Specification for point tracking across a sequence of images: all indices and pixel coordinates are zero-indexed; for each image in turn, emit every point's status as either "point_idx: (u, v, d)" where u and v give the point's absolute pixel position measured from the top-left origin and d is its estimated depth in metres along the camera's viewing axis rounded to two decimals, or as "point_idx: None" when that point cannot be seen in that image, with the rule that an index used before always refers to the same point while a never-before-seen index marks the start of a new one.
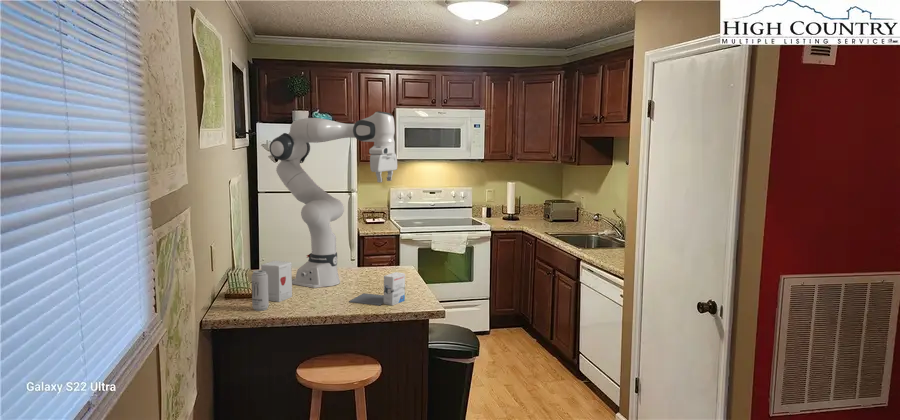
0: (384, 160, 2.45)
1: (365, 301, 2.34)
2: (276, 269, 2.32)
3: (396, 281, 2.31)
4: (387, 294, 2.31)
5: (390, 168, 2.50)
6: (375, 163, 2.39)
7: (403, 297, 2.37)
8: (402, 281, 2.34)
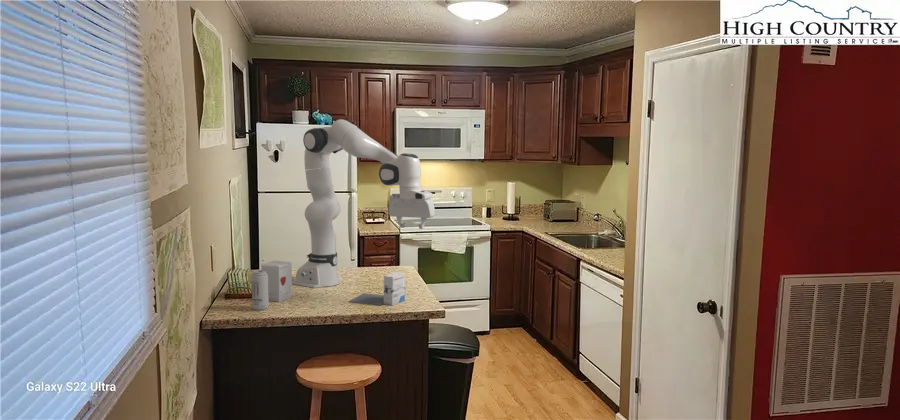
0: None
1: (365, 301, 2.34)
2: (276, 269, 2.32)
3: (396, 281, 2.31)
4: (387, 294, 2.31)
5: None
6: (432, 208, 2.27)
7: (403, 297, 2.37)
8: (402, 281, 2.34)
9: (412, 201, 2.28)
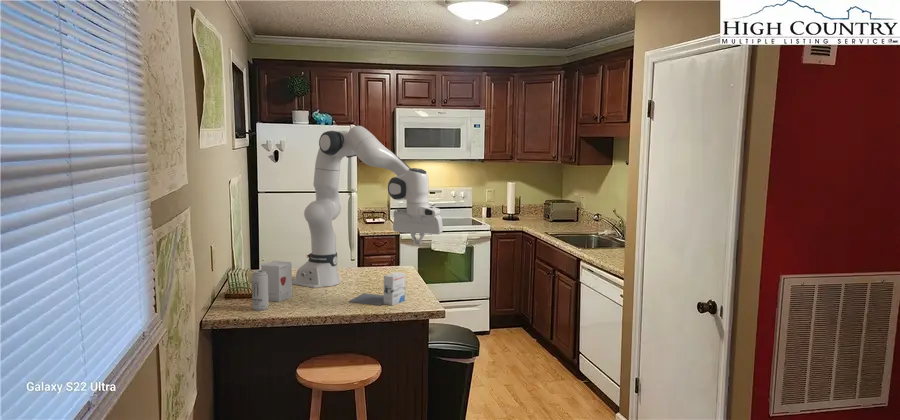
0: None
1: (365, 301, 2.34)
2: (276, 269, 2.32)
3: (396, 281, 2.31)
4: (387, 294, 2.31)
5: None
6: (441, 224, 2.25)
7: (403, 297, 2.37)
8: (402, 281, 2.34)
9: (420, 217, 2.25)
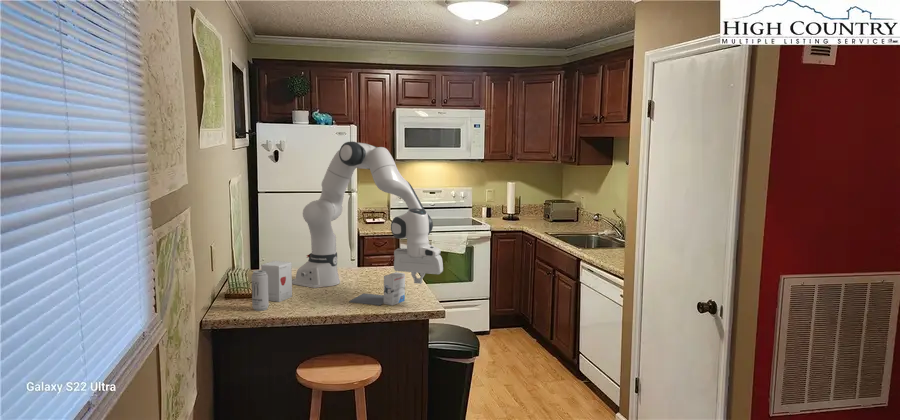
0: None
1: (365, 301, 2.34)
2: (276, 269, 2.32)
3: (396, 281, 2.31)
4: (387, 294, 2.31)
5: None
6: (441, 264, 2.27)
7: (403, 297, 2.37)
8: (402, 281, 2.34)
9: (421, 257, 2.27)
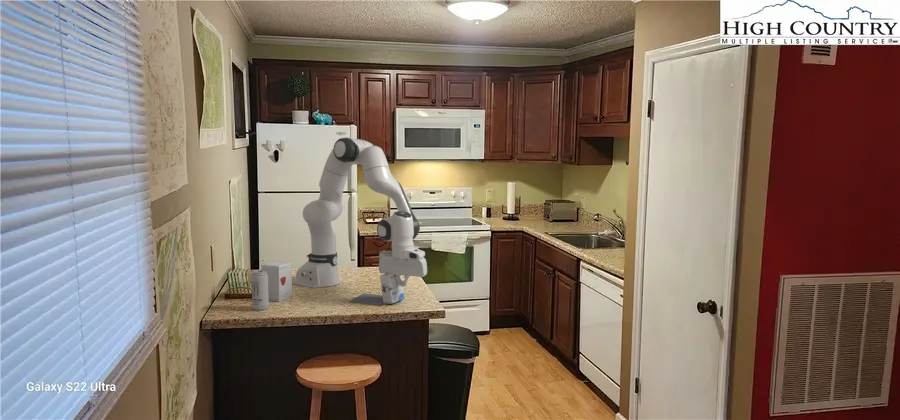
0: None
1: (365, 301, 2.34)
2: (276, 269, 2.32)
3: (392, 278, 2.32)
4: (386, 293, 2.31)
5: None
6: (425, 267, 2.30)
7: (403, 295, 2.37)
8: None
9: (405, 260, 2.29)
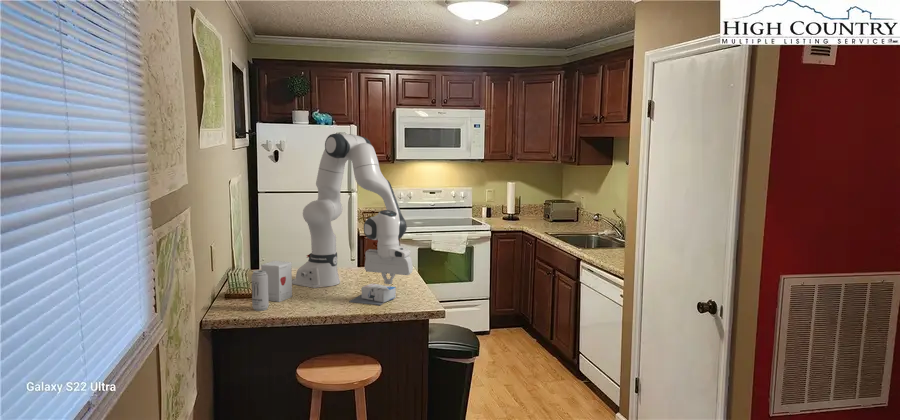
0: None
1: (365, 301, 2.34)
2: (276, 269, 2.32)
3: (368, 286, 2.39)
4: (375, 295, 2.34)
5: None
6: (411, 265, 2.32)
7: (391, 286, 2.39)
8: (375, 285, 2.41)
9: (391, 258, 2.31)
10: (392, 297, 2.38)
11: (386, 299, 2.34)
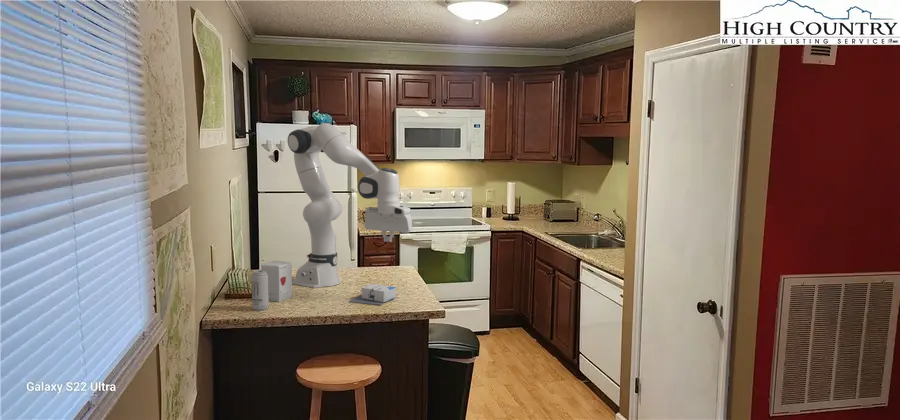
0: None
1: (365, 301, 2.34)
2: (276, 269, 2.32)
3: (368, 286, 2.39)
4: (375, 295, 2.34)
5: None
6: (410, 223, 2.33)
7: None
8: (375, 285, 2.41)
9: (390, 215, 2.32)
10: (392, 297, 2.38)
11: (386, 299, 2.34)
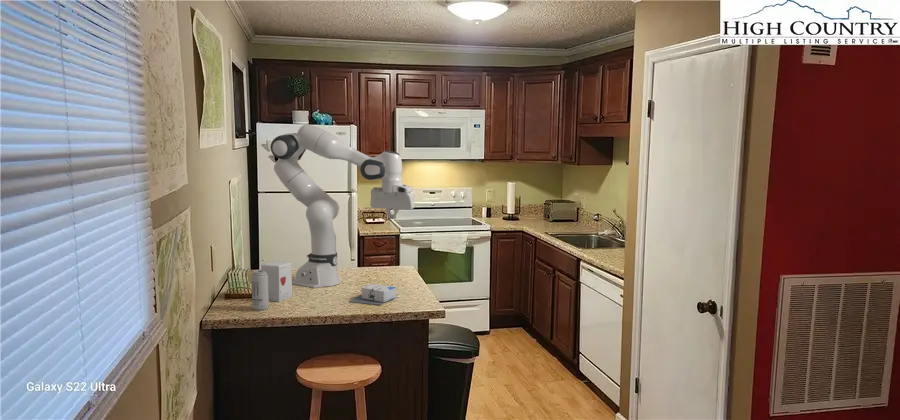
0: None
1: (365, 301, 2.34)
2: (276, 269, 2.32)
3: (368, 286, 2.39)
4: (375, 295, 2.34)
5: None
6: (413, 201, 2.52)
7: None
8: (375, 285, 2.41)
9: (394, 194, 2.51)
10: (392, 297, 2.38)
11: (386, 299, 2.34)
